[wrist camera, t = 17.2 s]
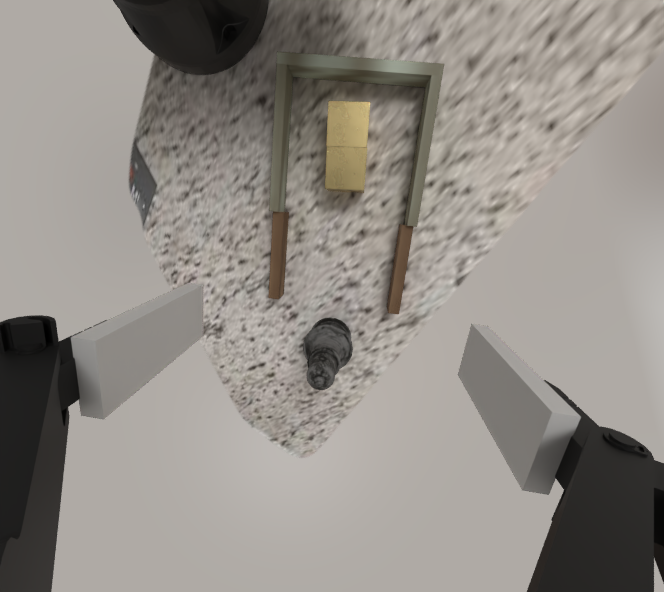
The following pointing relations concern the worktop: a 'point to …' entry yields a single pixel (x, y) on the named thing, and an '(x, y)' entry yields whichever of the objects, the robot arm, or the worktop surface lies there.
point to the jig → (285, 71)
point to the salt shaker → (326, 351)
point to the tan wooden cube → (345, 169)
